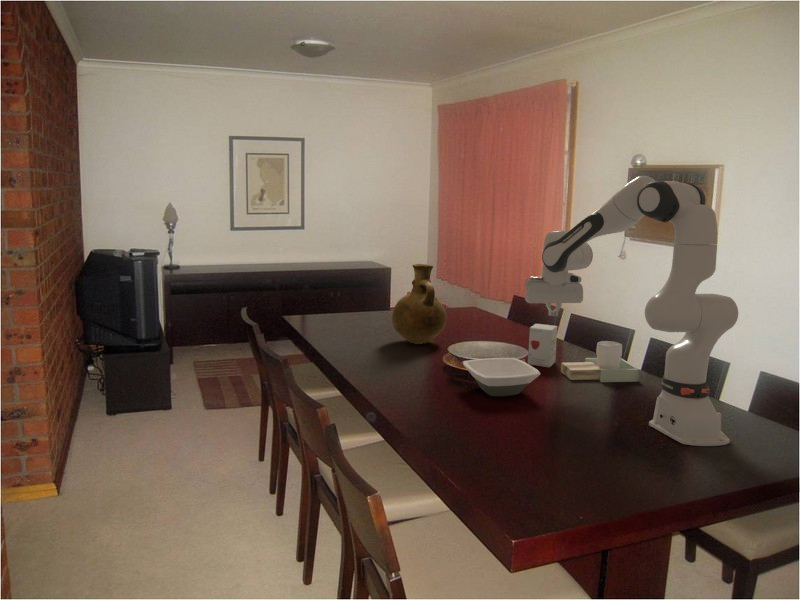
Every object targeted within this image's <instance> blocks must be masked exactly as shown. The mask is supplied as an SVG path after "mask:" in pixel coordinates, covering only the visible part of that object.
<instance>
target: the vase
mask: <svg viewBox="0 0 800 600" xmlns="http://www.w3.org/2000/svg"><path fill="white" fill-rule="evenodd" d="M412 268H413V271H414V278H413V280H412V281H411V285H412V288H411V291H408V292H407V293H406V295H404V296H402V297H401V298H400V299H398V301H397V302H396V304H395V306H394V308H393V310H392V315H391V321H392V327H393V329H395V332H397V333H398V334H399V335H400V336H401V337H402V338H403V339H405V340H406V341H408V342H410V343H411V344H413V343H414V345H422V344H423V343H424V344H427V343H428V342H431V341H432V340H434V339H436V337H438V336H439V335H440V334H441V333H442V331H444V329H445V328H446V325H447V320H448V319H447V311H446V309H445V306H444V305H443V303H442V302H441V300H439V299H438V298H437V297H436V295H435V294H436V292H435V286H434V285H433V284H432V282H431V275H432V270H433V268H434V265H433V264H428V263H427V264H425V263H415V264H414V263H413V264H412ZM424 344H423V345H424Z"/></svg>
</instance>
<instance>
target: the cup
mask: <svg viewBox="0 0 800 600" xmlns="http://www.w3.org/2000/svg"><path fill="white" fill-rule="evenodd" d="M595 351H596V353H595V354H596V358H597V366H599V367H600V368H602V369H619V365H620V360H621V358H622V356H623V343H620V342H618V341H611V340H601V341H598V342H597V344H596V350H595Z"/></svg>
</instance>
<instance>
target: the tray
mask: <svg viewBox="0 0 800 600" xmlns="http://www.w3.org/2000/svg"><path fill="white" fill-rule="evenodd" d="M584 362H593V363H594V364H596V365H597V357H585V359H584ZM640 370H641V369H639V368H638V367H637V366H635V365H633V364H632V363H630V362H628V361H626V360H625V359H624V358H622V357H621V360H620V365H619V369H601V371H600V379H599V382H600V383H627V382H628V383H633V382H635V383H637V382H638V383H639V380H640Z"/></svg>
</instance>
